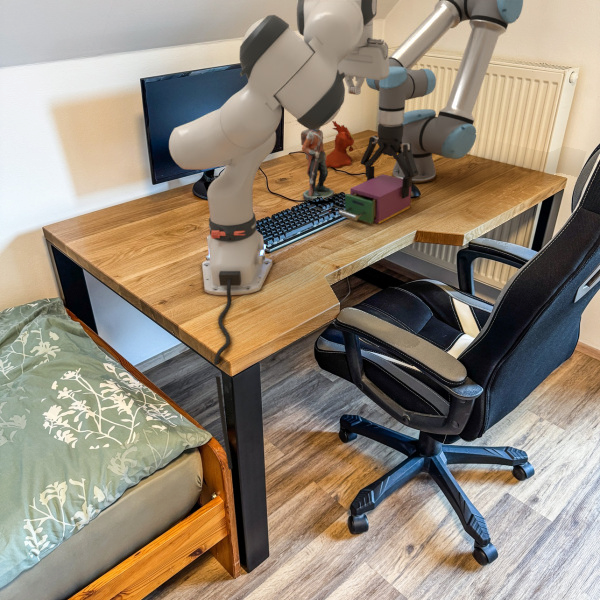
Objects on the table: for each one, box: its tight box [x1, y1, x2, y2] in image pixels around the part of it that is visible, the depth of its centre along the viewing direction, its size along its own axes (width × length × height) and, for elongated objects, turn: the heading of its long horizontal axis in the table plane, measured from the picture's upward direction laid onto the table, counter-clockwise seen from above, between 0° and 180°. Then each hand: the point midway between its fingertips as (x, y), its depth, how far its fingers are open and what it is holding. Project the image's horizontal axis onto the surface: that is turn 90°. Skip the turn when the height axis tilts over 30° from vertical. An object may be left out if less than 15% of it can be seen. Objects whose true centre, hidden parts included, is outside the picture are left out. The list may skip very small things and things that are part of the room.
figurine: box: [300, 127, 335, 202], centre depth 181 cm, size 11×11×30 cm
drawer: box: [337, 193, 377, 224], centre depth 172 cm, size 20×10×7 cm, turn 136°
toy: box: [325, 120, 355, 169], centre depth 216 cm, size 13×18×15 cm
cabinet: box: [349, 173, 412, 225], centre depth 176 cm, size 16×11×9 cm
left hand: (354, 93), depth 150 cm, fingers closed
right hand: (387, 192), depth 177 cm, fingers open, 13 cm apart
